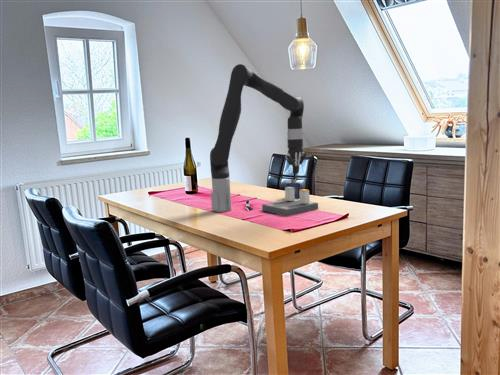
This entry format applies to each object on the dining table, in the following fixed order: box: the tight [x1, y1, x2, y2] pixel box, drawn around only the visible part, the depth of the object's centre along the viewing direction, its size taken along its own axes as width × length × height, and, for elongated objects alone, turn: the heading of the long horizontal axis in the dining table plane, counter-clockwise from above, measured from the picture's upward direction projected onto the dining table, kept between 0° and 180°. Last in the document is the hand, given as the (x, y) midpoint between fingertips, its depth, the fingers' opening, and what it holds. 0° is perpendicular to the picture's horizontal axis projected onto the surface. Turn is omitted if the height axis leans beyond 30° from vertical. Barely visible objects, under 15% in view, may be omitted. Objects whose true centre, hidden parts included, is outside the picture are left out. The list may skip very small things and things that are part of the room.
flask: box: [284, 179, 301, 200], centre depth 275 cm, size 9×3×11 cm, turn 65°
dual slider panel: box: [261, 198, 319, 217], centre depth 246 cm, size 21×19×3 cm
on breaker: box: [284, 187, 296, 201], centre depth 252 cm, size 3×4×7 cm
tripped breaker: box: [299, 188, 311, 204], centre depth 243 cm, size 3×4×7 cm
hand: (295, 173), depth 238 cm, fingers closed
